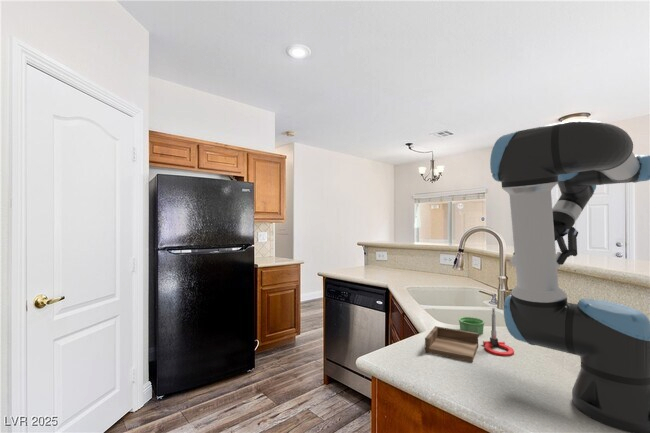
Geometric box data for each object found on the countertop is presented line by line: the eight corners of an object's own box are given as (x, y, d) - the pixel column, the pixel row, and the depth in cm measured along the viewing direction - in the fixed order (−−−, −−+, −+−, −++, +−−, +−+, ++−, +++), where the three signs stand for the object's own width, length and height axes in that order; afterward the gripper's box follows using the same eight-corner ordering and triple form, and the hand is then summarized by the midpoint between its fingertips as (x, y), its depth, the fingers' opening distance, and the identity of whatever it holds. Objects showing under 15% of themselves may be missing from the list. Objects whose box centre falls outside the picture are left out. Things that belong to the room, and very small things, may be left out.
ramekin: (459, 334, 117) (458, 322, 117) (458, 326, 126) (458, 315, 126) (485, 337, 114) (485, 325, 114) (483, 329, 122) (483, 318, 122)
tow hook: (518, 358, 97) (506, 345, 106) (518, 317, 96) (505, 307, 105) (490, 357, 98) (480, 344, 107) (489, 316, 98) (479, 307, 107)
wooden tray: (472, 362, 93) (472, 346, 93) (425, 352, 101) (425, 338, 101) (478, 346, 105) (477, 333, 105) (435, 338, 113) (435, 326, 113)
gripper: (611, 225, 93) (577, 282, 89) (534, 223, 117) (505, 268, 113) (597, 209, 91) (562, 267, 88) (522, 210, 115) (492, 255, 112)
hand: (530, 267), depth 101 cm, fingers open, 13 cm apart
